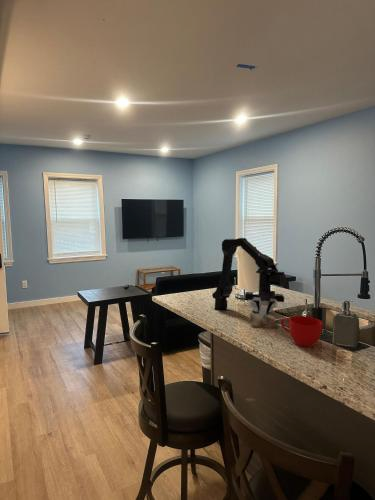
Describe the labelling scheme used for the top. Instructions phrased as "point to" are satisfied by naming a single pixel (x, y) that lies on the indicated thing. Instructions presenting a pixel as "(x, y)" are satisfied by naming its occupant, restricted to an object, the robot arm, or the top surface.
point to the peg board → (259, 322)
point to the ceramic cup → (304, 330)
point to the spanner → (263, 312)
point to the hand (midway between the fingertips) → (263, 313)
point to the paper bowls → (254, 306)
